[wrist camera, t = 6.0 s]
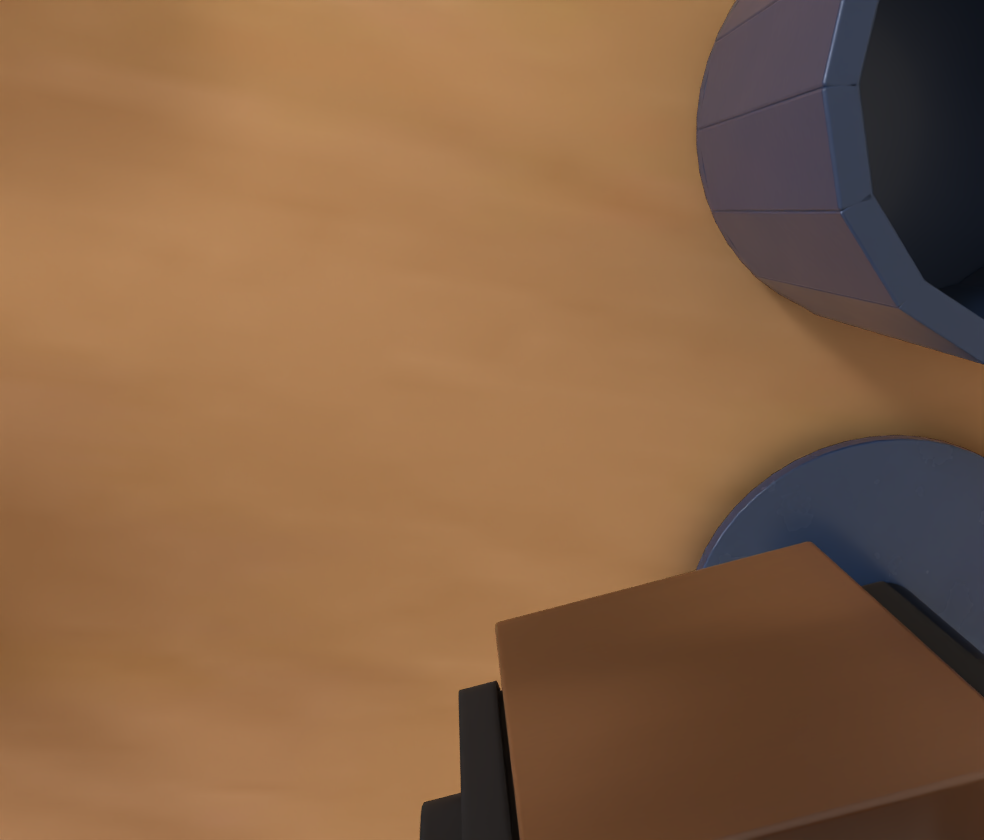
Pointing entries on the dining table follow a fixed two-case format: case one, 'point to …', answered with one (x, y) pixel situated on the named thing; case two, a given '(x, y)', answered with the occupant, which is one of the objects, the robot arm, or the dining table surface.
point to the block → (738, 713)
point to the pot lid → (879, 523)
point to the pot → (854, 160)
